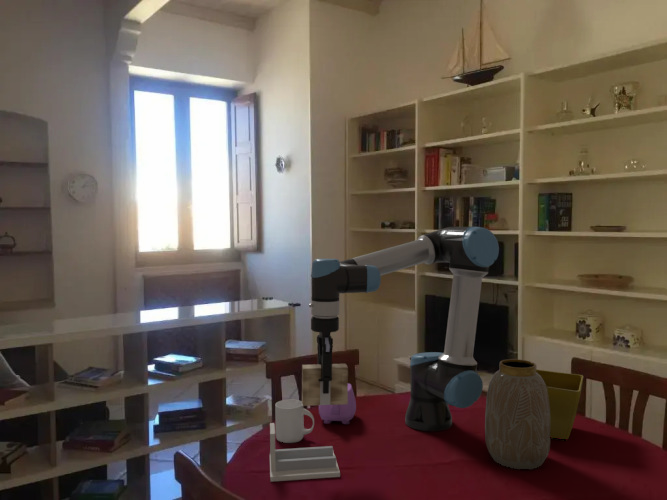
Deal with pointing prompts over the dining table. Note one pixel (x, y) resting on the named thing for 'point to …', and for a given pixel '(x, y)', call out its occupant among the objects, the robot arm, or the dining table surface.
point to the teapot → (339, 410)
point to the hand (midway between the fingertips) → (324, 401)
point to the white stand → (301, 462)
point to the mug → (291, 421)
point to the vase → (518, 416)
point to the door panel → (313, 385)
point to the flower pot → (562, 400)
